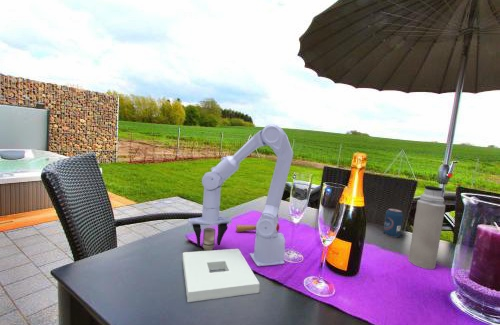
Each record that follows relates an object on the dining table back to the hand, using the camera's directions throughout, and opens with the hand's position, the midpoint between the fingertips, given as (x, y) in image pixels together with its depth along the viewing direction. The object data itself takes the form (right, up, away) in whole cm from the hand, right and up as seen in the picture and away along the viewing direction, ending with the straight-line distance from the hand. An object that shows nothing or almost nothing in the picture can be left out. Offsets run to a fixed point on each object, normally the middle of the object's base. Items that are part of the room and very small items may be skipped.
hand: (208, 244), depth 85 cm
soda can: (+80, -6, +30) cm, 86 cm away
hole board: (+5, -4, -15) cm, 16 cm away
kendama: (+17, -2, +19) cm, 26 cm away
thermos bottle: (+76, -8, +3) cm, 76 cm away
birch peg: (0, -2, 0) cm, 2 cm away
